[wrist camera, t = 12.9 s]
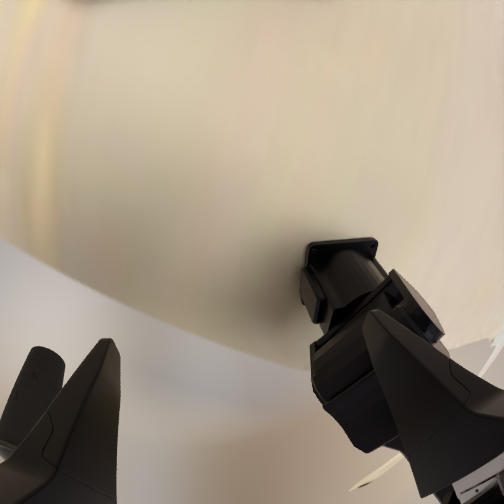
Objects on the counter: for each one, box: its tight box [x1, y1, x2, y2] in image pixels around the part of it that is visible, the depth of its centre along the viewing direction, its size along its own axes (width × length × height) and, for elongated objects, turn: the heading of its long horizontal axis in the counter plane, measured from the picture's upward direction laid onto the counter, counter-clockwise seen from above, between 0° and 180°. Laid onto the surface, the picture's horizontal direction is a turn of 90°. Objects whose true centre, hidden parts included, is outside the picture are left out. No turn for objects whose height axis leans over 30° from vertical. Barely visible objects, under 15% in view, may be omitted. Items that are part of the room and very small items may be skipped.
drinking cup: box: [0, 346, 65, 460], centre depth 19 cm, size 8×8×20 cm
